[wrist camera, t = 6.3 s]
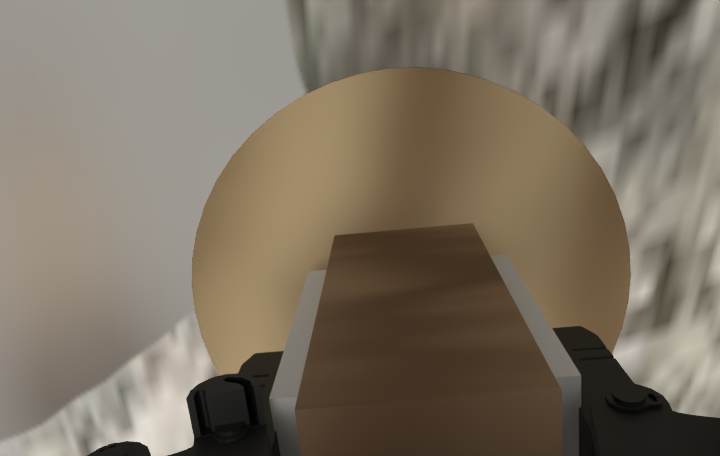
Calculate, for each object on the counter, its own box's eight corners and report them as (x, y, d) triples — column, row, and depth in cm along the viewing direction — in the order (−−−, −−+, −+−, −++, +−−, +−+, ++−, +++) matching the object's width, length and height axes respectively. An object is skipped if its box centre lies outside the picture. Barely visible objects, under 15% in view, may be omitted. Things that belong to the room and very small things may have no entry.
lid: (621, 44, 17) (927, 41, 8) (615, 444, 21) (816, 783, 11) (165, 91, 18) (-78, 143, 8) (235, 470, 22) (122, 809, 12)
